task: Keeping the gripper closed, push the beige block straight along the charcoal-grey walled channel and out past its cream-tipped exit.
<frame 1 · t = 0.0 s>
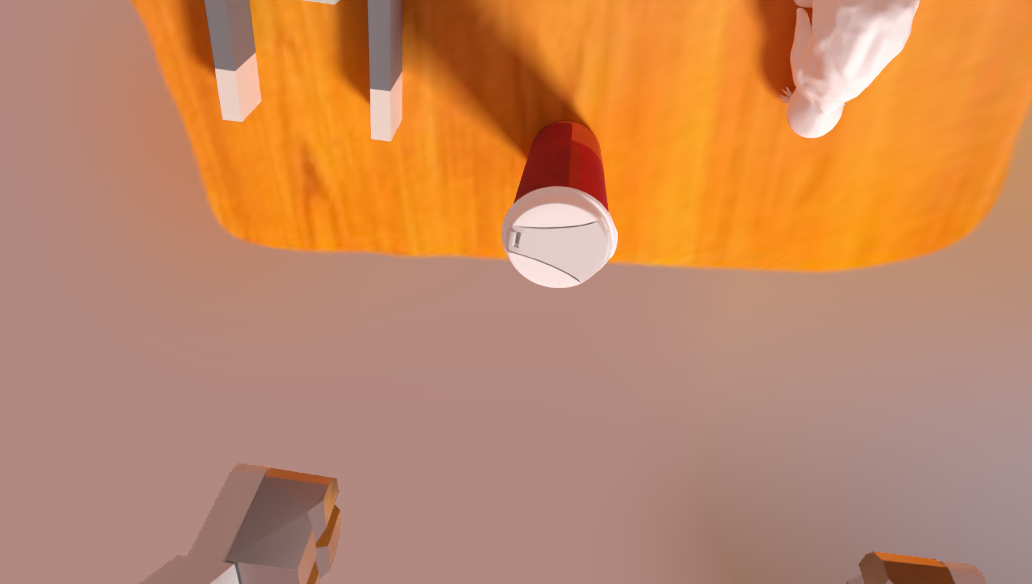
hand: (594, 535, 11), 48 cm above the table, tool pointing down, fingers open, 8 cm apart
paper cup: (566, 151, 60), on the table
white irregular piece: (822, 43, 53), on the table
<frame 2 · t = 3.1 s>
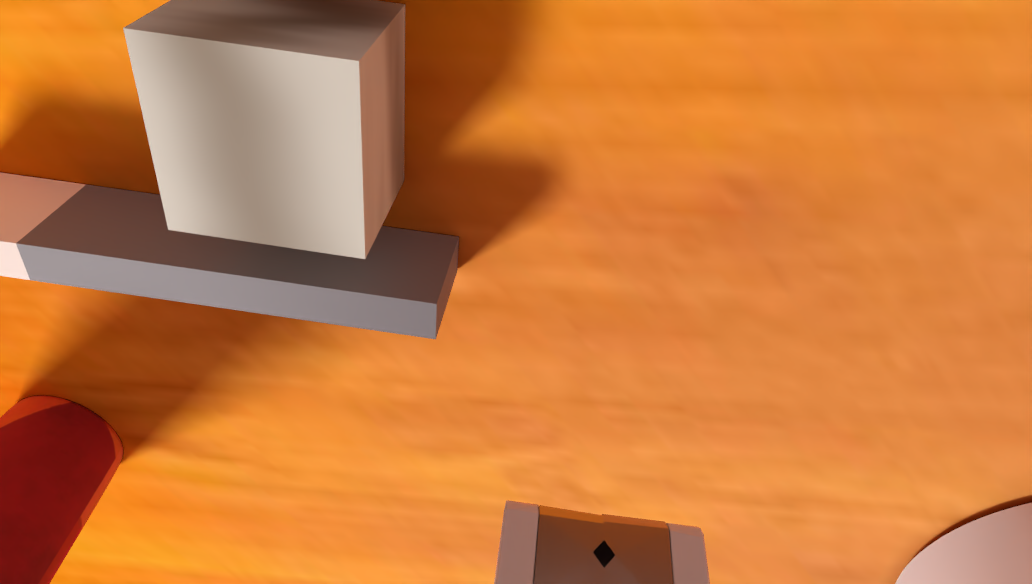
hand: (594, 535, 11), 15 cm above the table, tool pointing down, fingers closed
beige block: (315, 84, 24), on the table
walled channel: (193, 70, 24), on the table
paper cup: (71, 433, 37), on the table
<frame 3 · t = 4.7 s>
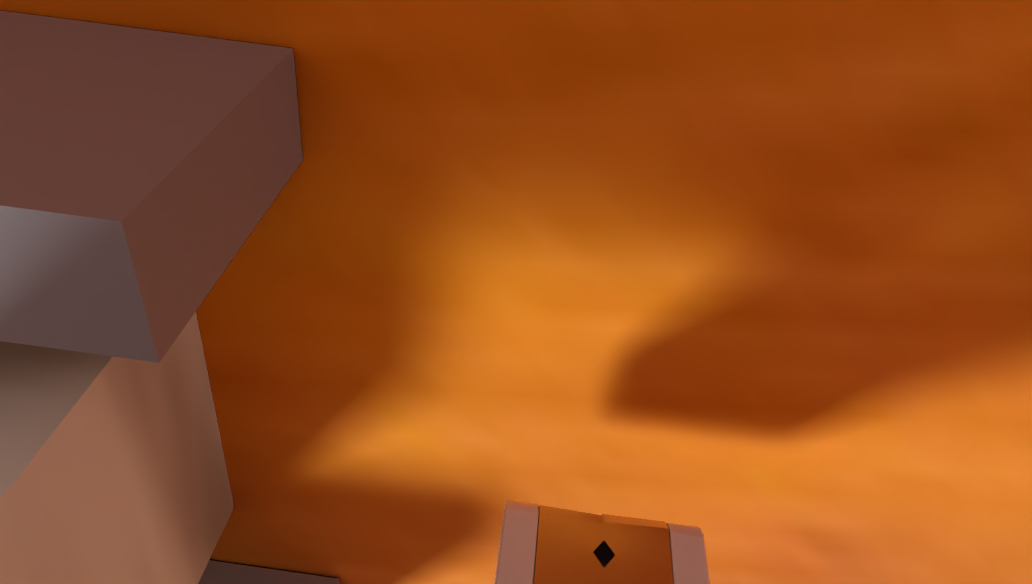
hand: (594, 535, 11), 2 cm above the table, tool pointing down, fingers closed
beige block: (49, 372, 13), on the table
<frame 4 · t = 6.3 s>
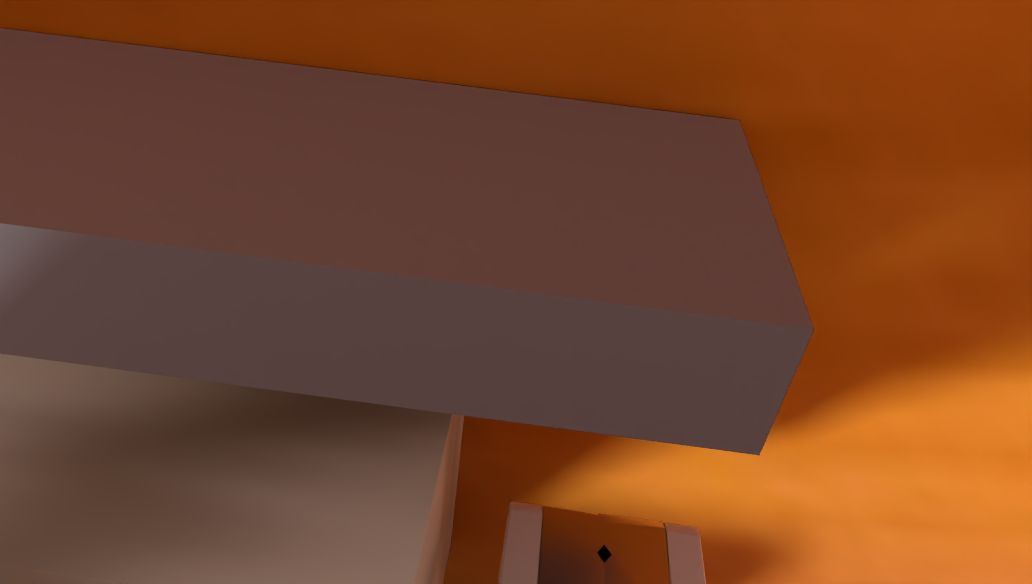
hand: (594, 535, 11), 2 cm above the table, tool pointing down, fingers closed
beige block: (292, 416, 13), on the table, touching gripper
walled channel: (131, 399, 13), on the table
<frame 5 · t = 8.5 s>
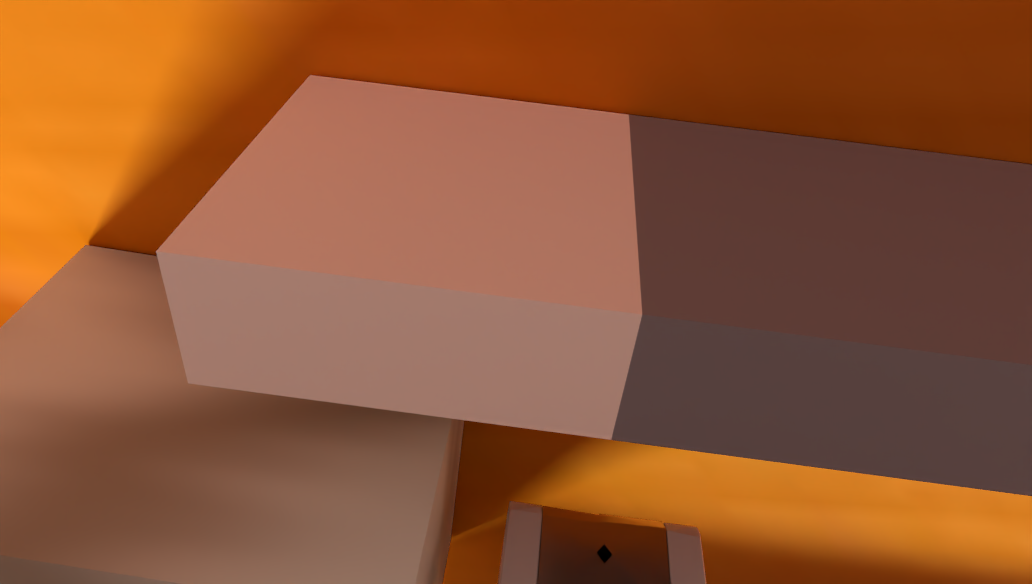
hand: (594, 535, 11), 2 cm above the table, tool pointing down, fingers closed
beige block: (293, 412, 13), on the table, touching gripper
walled channel: (845, 498, 13), on the table
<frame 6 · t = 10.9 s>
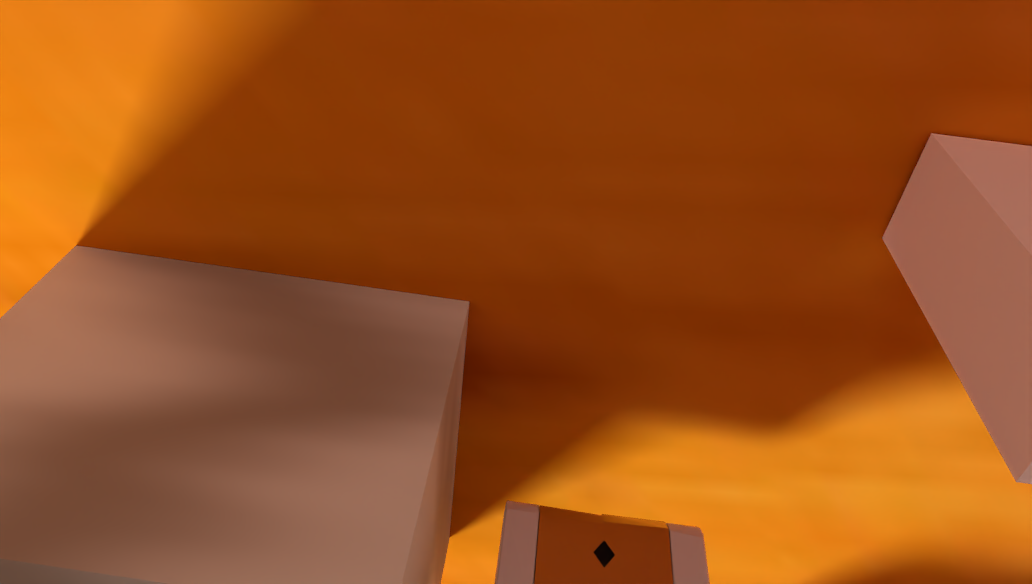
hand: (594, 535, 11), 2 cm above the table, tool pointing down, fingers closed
beige block: (288, 411, 13), on the table, touching gripper
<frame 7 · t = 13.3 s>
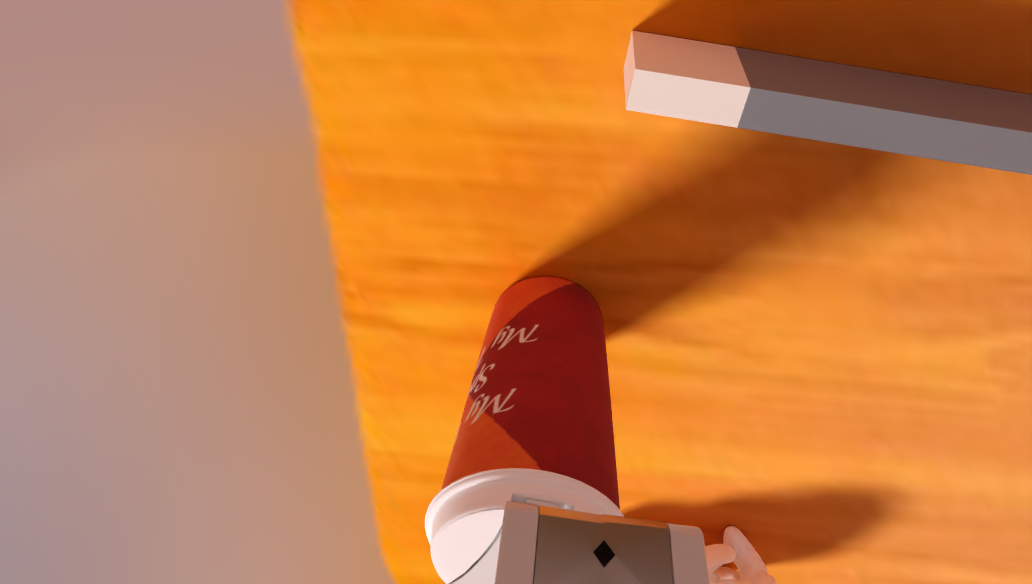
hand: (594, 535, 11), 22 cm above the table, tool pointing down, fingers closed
paper cup: (547, 318, 38), on the table
white irregular piece: (674, 540, 48), on the table
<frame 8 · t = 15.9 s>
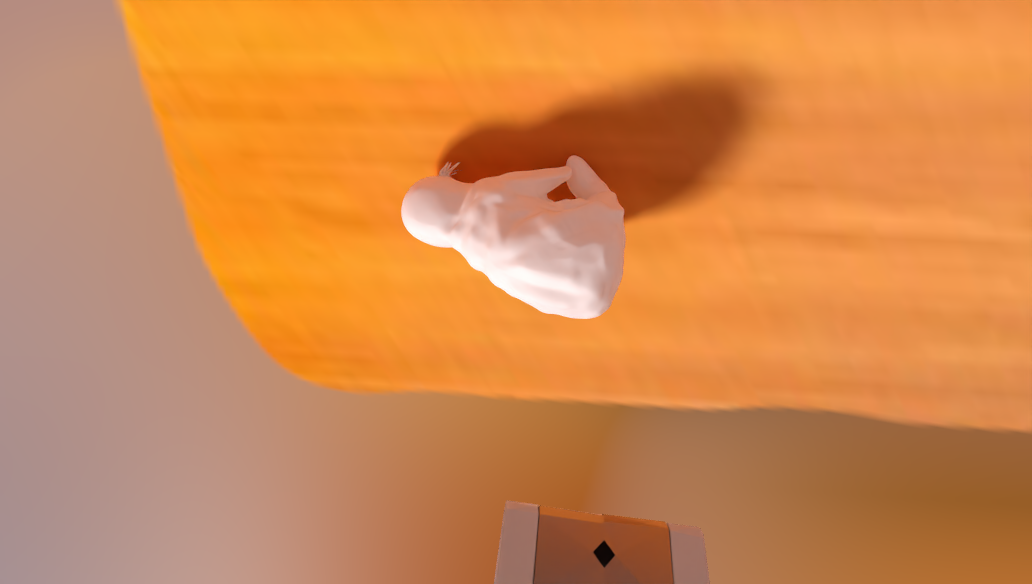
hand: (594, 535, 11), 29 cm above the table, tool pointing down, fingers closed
white irregular piece: (516, 193, 42), on the table
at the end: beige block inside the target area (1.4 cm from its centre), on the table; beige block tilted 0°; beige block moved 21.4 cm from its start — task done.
